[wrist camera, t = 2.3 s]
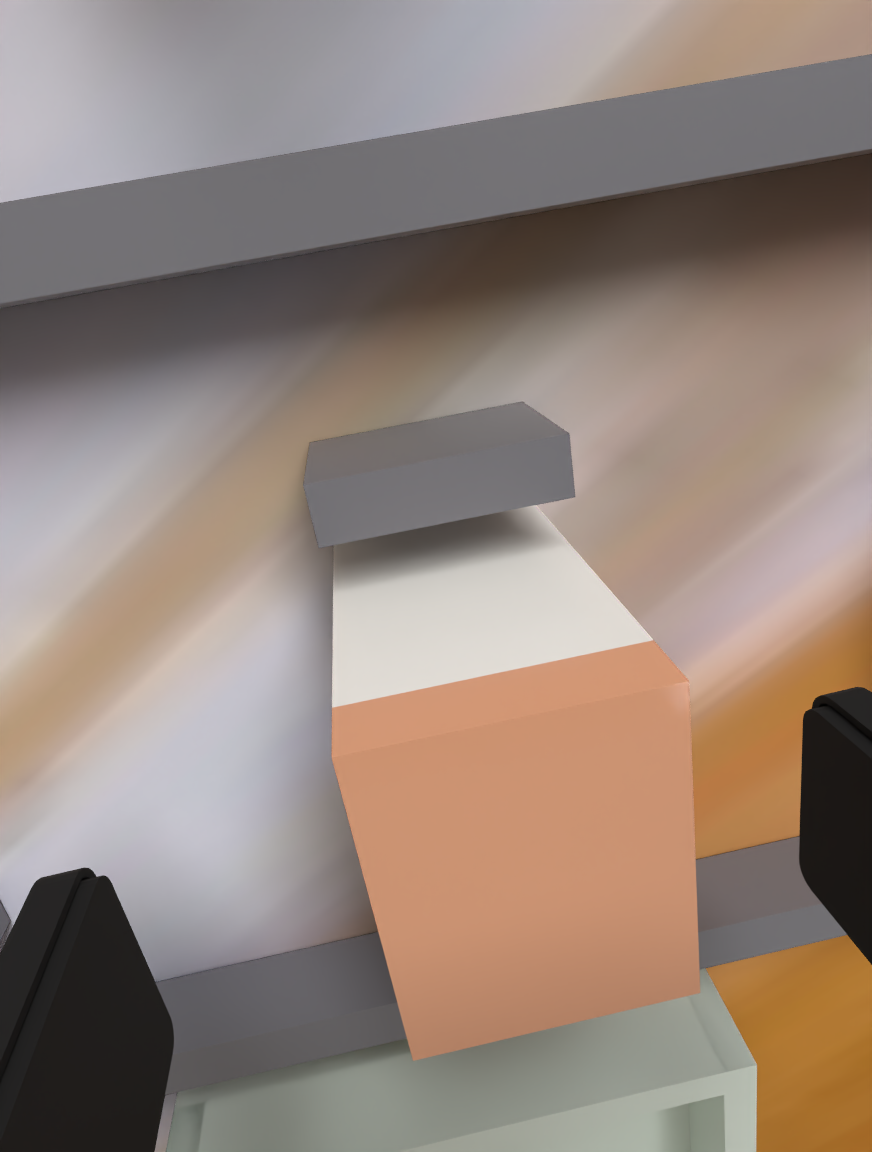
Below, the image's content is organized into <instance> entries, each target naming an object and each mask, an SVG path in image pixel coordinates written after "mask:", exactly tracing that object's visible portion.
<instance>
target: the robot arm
mask: <svg viewBox="0 0 872 1152" xmlns="http://www.w3.org/2000/svg"><path fill="white" fill-rule="evenodd" d="M799 865H800V869H801V872H802V875H803V877H804V879H805V881H806V883H807V885H808V886H809V888H810V889H811V891H812V892H813V893H814V894H815V896H816V897H817V898H818V899H819V901H820V902H821V903H822V904H823V905H824V907H825V908H826V909H827V910H828V912H829V913H830V914H831V915H832V916H833V918H834V919H835V920H836V921H837V923H838V924H839V925H840V926H841V927H842V929H843V930H844V931H845V932H846V934H847V935H848V936H849V937H850V939H851V940H852V941H853V942H854V943H855V945H856V946H857V947H858V948H859V950H860V951H861V952H862V953H863V954H864V956H865V957H866V958H867V959H868V961H869V962H870V963H871V964H872V692H870V691H868V690H867V689H865V688H861V687H855V688H851V689H847V690H842V691H838V692H834V693H830V694H825V695H821V696H819V697H817V698H816V699H815V700H814V702H813V705H812V709H810V710H808V711H806V712H805V714H804V718H803V740H802V774H801V808H800V841H799ZM173 1048H174V1030H173V1024H172V1020H171V1017H170V1015H169V1012H168V1010H167V1008H166V1005H165V1003H164V1001H163V999H162V996H161V994H160V992H159V990H158V987H157V985H156V983H155V981H154V978H153V976H152V974H151V971H150V969H149V967H148V965H147V962H146V960H145V958H144V956H143V953H142V951H141V949H140V946H139V944H138V942H137V940H136V937H135V935H134V933H133V931H132V928H131V926H130V924H129V922H128V919H127V917H126V915H125V912H124V910H123V908H122V906H121V903H120V901H119V899H118V897H117V894H116V892H115V890H114V887H113V885H112V883H111V881H110V880H109V878H108V877H106V876H99V877H96V875H95V874H94V872H93V871H92V870H91V869H89V868H81V869H77V870H72V871H68V872H64V873H59V874H55V875H51V876H47V877H42V878H40V879H39V880H37V881H36V882H35V883H34V885H33V887H32V888H31V890H30V892H29V894H28V896H27V899H26V901H25V903H24V905H23V907H22V909H21V911H20V913H19V915H18V918H17V920H16V922H15V924H14V926H13V928H12V930H11V932H10V934H9V936H8V939H7V941H6V943H5V945H4V947H3V949H2V951H1V953H0V1152H154V1150H155V1145H156V1140H157V1134H158V1129H159V1124H160V1119H161V1113H162V1108H163V1103H164V1097H165V1092H166V1087H167V1082H168V1076H169V1071H170V1066H171V1060H172V1055H173Z"/></svg>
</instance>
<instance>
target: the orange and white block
mask: <svg viewBox="0 0 872 1152" xmlns="http://www.w3.org/2000/svg"><path fill="white" fill-rule="evenodd" d="M332 761H333V765H334V768H335V772H336V776H337V780H338V783H339V787H340V791H341V794H342V798H343V802H344V806H345V809H346V813H347V817H348V821H349V824H350V828H351V832H352V835H353V839H354V843H355V847H356V850H357V854H358V858H359V862H360V865H361V869H362V873H363V876H364V880H365V884H366V888H367V891H368V895H369V899H370V902H371V906H372V910H373V914H374V917H375V921H376V925H377V929H378V932H379V936H380V940H381V943H382V947H383V951H384V955H385V958H386V962H387V966H388V970H389V973H390V977H391V981H392V984H393V988H394V992H395V996H396V999H397V1003H398V1007H399V1011H400V1014H401V1018H402V1022H403V1025H404V1029H405V1033H406V1037H407V1040H408V1044H409V1048H410V1052H411V1055H412V1059H413V1061H415V1060H419V1059H423V1058H428V1057H432V1056H436V1055H440V1054H445V1053H449V1052H453V1051H457V1050H461V1049H466V1048H470V1047H474V1046H478V1045H483V1044H487V1043H491V1042H495V1041H499V1040H504V1039H508V1038H512V1037H516V1036H521V1035H525V1034H529V1033H533V1032H538V1031H542V1030H546V1029H550V1028H554V1027H559V1026H563V1025H567V1024H571V1023H576V1022H580V1021H584V1020H588V1019H593V1018H597V1017H601V1016H605V1015H609V1014H614V1013H618V1012H622V1011H626V1010H631V1009H635V1008H639V1007H643V1006H647V1005H652V1004H656V1003H660V1002H664V1001H669V1000H673V999H677V998H681V997H686V996H690V995H694V994H698V993H700V971H699V942H698V914H697V886H696V858H695V830H694V801H693V773H692V745H691V717H690V689H689V680H688V679H687V678H686V677H685V676H684V675H683V673H682V672H681V671H680V670H679V669H678V668H677V667H676V665H675V664H674V663H673V662H672V661H671V660H670V659H669V657H668V656H667V655H666V654H665V653H664V652H663V650H662V649H661V648H660V647H659V646H658V645H657V644H656V642H655V641H654V640H653V639H652V638H651V637H650V636H649V634H648V633H647V632H646V631H645V630H644V629H643V627H642V626H641V625H640V624H639V623H638V622H637V621H636V619H635V618H634V617H633V616H632V615H631V614H630V613H629V611H628V610H627V609H626V608H625V607H624V606H623V605H622V603H621V602H620V601H619V600H618V599H617V598H616V596H615V595H614V594H613V593H612V592H611V591H610V590H609V588H608V587H607V586H606V585H605V584H604V583H603V582H602V580H601V579H600V578H599V577H598V576H597V575H596V573H595V572H594V571H593V570H592V569H591V568H590V567H589V565H588V564H587V563H586V562H585V561H584V560H583V559H582V557H581V556H580V555H579V554H578V553H577V552H576V551H575V549H574V548H573V547H572V546H571V545H570V544H569V542H568V541H567V540H566V539H565V538H564V537H563V536H562V534H561V533H560V532H559V531H558V530H557V529H556V528H555V526H554V525H553V524H552V523H551V522H550V521H549V519H548V518H547V517H546V516H545V515H544V514H543V513H542V511H541V510H540V509H539V508H538V507H537V506H536V505H533V506H528V507H523V508H518V509H513V510H508V511H503V512H498V513H493V514H488V515H483V516H478V517H473V518H468V519H463V520H458V521H453V522H448V523H443V524H438V525H433V526H428V527H423V528H418V529H413V530H408V531H403V532H398V533H393V534H388V535H383V536H378V537H373V538H368V539H363V540H357V541H352V542H347V543H342V544H337V545H334V553H333V662H332Z"/></svg>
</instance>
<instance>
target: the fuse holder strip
mask: <svg viewBox="0 0 872 1152" xmlns="http://www.w3.org/2000/svg"><path fill="white" fill-rule="evenodd" d="M870 153H872V54H870V55H864V56H858V57H853V58H847V59H841V60H835V61H829V62H823V63H817V64H811V65H806V66H800V67H794V68H788V69H782V70H776V71H770V72H765V73H759V74H753V75H747V76H741V77H735V78H729V79H724V80H718V81H712V82H706V83H700V84H694V85H688V86H683V87H677V88H671V89H665V90H659V91H653V92H647V93H642V94H636V95H630V96H624V97H618V98H612V99H606V100H601V101H595V102H589V103H583V104H577V105H571V106H565V107H560V108H554V109H548V110H542V111H536V112H530V113H524V114H519V115H513V116H507V117H501V118H495V119H489V120H483V121H478V122H472V123H466V124H460V125H454V126H448V127H442V128H436V129H431V130H425V131H419V132H413V133H407V134H401V135H395V136H390V137H384V138H378V139H372V140H366V141H360V142H354V143H349V144H343V145H337V146H331V147H325V148H319V149H313V150H308V151H302V152H296V153H290V154H284V155H278V156H272V157H267V158H261V159H255V160H249V161H243V162H237V163H231V164H226V165H220V166H214V167H208V168H202V169H196V170H190V171H185V172H179V173H173V174H167V175H161V176H155V177H149V178H144V179H138V180H132V181H126V182H120V183H114V184H108V185H103V186H97V187H91V188H85V189H79V190H73V191H67V192H61V193H56V194H50V195H44V196H38V197H32V198H26V199H20V200H15V201H9V202H3V203H0V308H5V307H11V306H16V305H22V304H27V303H33V302H39V301H44V300H50V299H56V298H61V297H67V296H72V295H78V294H84V293H89V292H95V291H101V290H106V289H112V288H117V287H123V286H129V285H134V284H140V283H145V282H151V281H157V280H162V279H168V278H174V277H179V276H185V275H190V274H196V273H202V272H207V271H213V270H219V269H224V268H230V267H235V266H241V265H247V264H252V263H258V262H263V261H269V260H275V259H280V258H286V257H292V256H297V255H303V254H308V253H314V252H320V251H325V250H331V249H337V248H342V247H348V246H353V245H359V244H365V243H370V242H376V241H381V240H387V239H393V238H398V237H404V236H410V235H415V234H421V233H426V232H432V231H438V230H443V229H449V228H455V227H460V226H466V225H471V224H477V223H483V222H488V221H494V220H499V219H505V218H511V217H516V216H522V215H528V214H533V213H539V212H544V211H550V210H556V209H561V208H567V207H573V206H578V205H584V204H589V203H595V202H601V201H606V200H612V199H617V198H623V197H629V196H634V195H640V194H646V193H651V192H657V191H662V190H668V189H674V188H679V187H685V186H691V185H696V184H702V183H707V182H713V181H719V180H724V179H730V178H735V177H741V176H747V175H752V174H758V173H764V172H769V171H775V170H780V169H786V168H792V167H797V166H803V165H809V164H814V163H820V162H825V161H831V160H837V159H842V158H848V157H853V156H859V155H865V154H870ZM303 486H304V490H305V494H306V498H307V502H308V506H309V511H310V515H311V519H312V523H313V527H314V531H315V535H316V539H317V543H318V547H319V548H322V547H327V546H332V545H337V544H342V543H347V542H352V541H357V540H363V539H368V538H373V537H378V536H383V535H388V534H393V533H398V532H403V531H408V530H413V529H418V528H423V527H428V526H433V525H438V524H443V523H448V522H453V521H458V520H463V519H468V518H473V517H478V516H483V515H488V514H493V513H498V512H503V511H508V510H513V509H518V508H523V507H528V506H533V505H538V504H543V503H548V502H554V501H559V500H564V499H569V498H574V497H575V489H574V478H573V467H572V457H571V446H570V436H569V433H568V432H567V431H565V430H564V429H562V428H561V427H559V426H558V425H556V424H555V423H553V422H552V421H550V420H549V419H547V418H546V417H544V416H543V415H541V414H540V413H538V412H537V411H535V410H534V409H533V408H531V407H530V406H528V405H527V404H525V403H524V402H519V403H513V404H508V405H503V406H498V407H492V408H487V409H482V410H477V411H472V412H466V413H461V414H456V415H451V416H445V417H440V418H435V419H430V420H425V421H419V422H414V423H409V424H404V425H398V426H393V427H388V428H383V429H377V430H372V431H367V432H362V433H357V434H351V435H346V436H341V437H336V438H330V439H325V440H320V441H315V442H310V445H309V451H308V458H307V464H306V471H305V477H304V484H303ZM799 841H800V836H799V837H794V838H790V839H785V840H781V841H777V842H772V843H768V844H763V845H759V846H755V847H750V848H746V849H741V850H737V851H732V852H728V853H724V854H719V855H715V856H710V857H706V858H702V859H697V860H696V886H697V914H698V942H699V970H700V969H704V968H708V967H712V966H717V965H721V964H725V963H729V962H734V961H738V960H742V959H747V958H751V957H755V956H759V955H764V954H768V953H772V952H776V951H781V950H785V949H789V948H793V947H798V946H802V945H806V944H810V943H815V942H819V941H823V940H827V939H832V938H836V937H840V936H844V935H847V934H846V932H845V931H844V930H843V929H842V927H841V926H840V925H839V924H838V923H837V921H836V920H835V919H834V918H833V916H832V915H831V914H830V913H829V912H828V910H827V909H826V908H825V907H824V905H823V904H822V903H821V902H820V901H819V899H818V898H817V897H816V896H815V894H814V893H813V892H812V891H811V889H810V888H809V886H808V885H807V883H806V881H805V879H804V877H803V875H802V872H801V869H800V865H799ZM9 922H10V919H9V917H8V916H7V914H6V912H5V910H4V908H3V906H2V904H1V902H0V940H1V938H2V936H3V934H4V932H5V930H6V928H7V926H8V924H9ZM156 985H157V987H158V990H159V992H160V994H161V996H162V999H163V1001H164V1003H165V1005H166V1008H167V1010H168V1012H169V1015H170V1017H171V1020H172V1024H173V1030H174V1048H173V1055H172V1060H171V1066H170V1071H169V1076H168V1082H167V1087H166V1092H165V1095H168V1094H172V1093H177V1092H181V1091H185V1090H189V1089H194V1088H198V1087H202V1086H206V1085H211V1084H215V1083H219V1082H223V1081H228V1080H232V1079H236V1078H240V1077H245V1076H249V1075H253V1074H257V1073H262V1072H266V1071H270V1070H274V1069H279V1068H283V1067H287V1066H291V1065H296V1064H300V1063H304V1062H308V1061H313V1060H317V1059H321V1058H325V1057H330V1056H334V1055H338V1054H342V1053H347V1052H351V1051H355V1050H359V1049H364V1048H368V1047H372V1046H376V1045H381V1044H385V1043H389V1042H393V1041H398V1040H402V1039H406V1038H407V1037H406V1033H405V1029H404V1025H403V1022H402V1018H401V1014H400V1011H399V1007H398V1003H397V999H396V996H395V992H394V988H393V984H392V981H391V977H390V973H389V970H388V966H387V962H386V958H385V955H384V951H383V947H382V943H381V940H380V936H379V932H376V933H371V934H367V935H363V936H358V937H354V938H349V939H345V940H341V941H336V942H332V943H327V944H323V945H319V946H314V947H310V948H305V949H301V950H297V951H292V952H288V953H283V954H279V955H275V956H270V957H266V958H261V959H257V960H252V961H248V962H244V963H239V964H235V965H230V966H226V967H222V968H217V969H213V970H208V971H204V972H200V973H195V974H191V975H186V976H182V977H178V978H173V979H169V980H164V981H160V982H156Z"/></svg>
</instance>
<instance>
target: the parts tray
mask: <svg viewBox="0 0 872 1152" xmlns="http://www.w3.org/2000/svg"><path fill="white" fill-rule="evenodd" d="M699 971H700V993H698V994H694V995H690V996H686V997H681V998H677V999H673V1000H669V1001H664V1002H660V1003H656V1004H652V1005H647V1006H643V1007H639V1008H635V1009H631V1010H626V1011H622V1012H618V1013H614V1014H609V1015H605V1016H601V1017H597V1018H593V1019H588V1020H584V1021H580V1022H576V1023H571V1024H567V1025H563V1026H559V1027H554V1028H550V1029H546V1030H542V1031H538V1032H533V1033H529V1034H525V1035H521V1036H516V1037H512V1038H508V1039H504V1040H499V1041H495V1042H491V1043H487V1044H483V1045H478V1046H474V1047H470V1048H466V1049H461V1050H457V1051H453V1052H449V1053H445V1054H440V1055H436V1056H432V1057H428V1058H423V1059H419V1060H415V1061H413V1059H412V1055H411V1052H410V1048H409V1044H408V1040H407V1038H406V1039H402V1040H398V1041H393V1042H389V1043H385V1044H381V1045H376V1046H372V1047H368V1048H364V1049H359V1050H355V1051H351V1052H347V1053H342V1054H338V1055H334V1056H330V1057H325V1058H321V1059H317V1060H313V1061H308V1062H304V1063H300V1064H296V1065H291V1066H287V1067H283V1068H279V1069H274V1070H270V1071H266V1072H262V1073H257V1074H253V1075H249V1076H245V1077H240V1078H236V1079H232V1080H228V1081H223V1082H219V1083H215V1084H211V1085H206V1086H202V1087H198V1088H194V1089H189V1090H185V1091H181V1092H177V1097H176V1102H175V1107H174V1112H173V1118H172V1123H171V1128H170V1133H169V1138H168V1143H167V1148H166V1152H756V1106H757V1064H756V1062H755V1060H754V1058H753V1057H752V1055H751V1053H750V1051H749V1049H748V1047H747V1045H746V1043H745V1042H744V1040H743V1038H742V1036H741V1034H740V1032H739V1030H738V1028H737V1027H736V1025H735V1023H734V1021H733V1019H732V1017H731V1015H730V1013H729V1012H728V1010H727V1008H726V1006H725V1004H724V1002H723V1000H722V998H721V997H720V995H719V993H718V991H717V989H716V987H715V985H714V983H713V982H712V980H711V978H710V976H709V974H708V972H707V970H706V968H704V969H700V970H699Z"/></svg>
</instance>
